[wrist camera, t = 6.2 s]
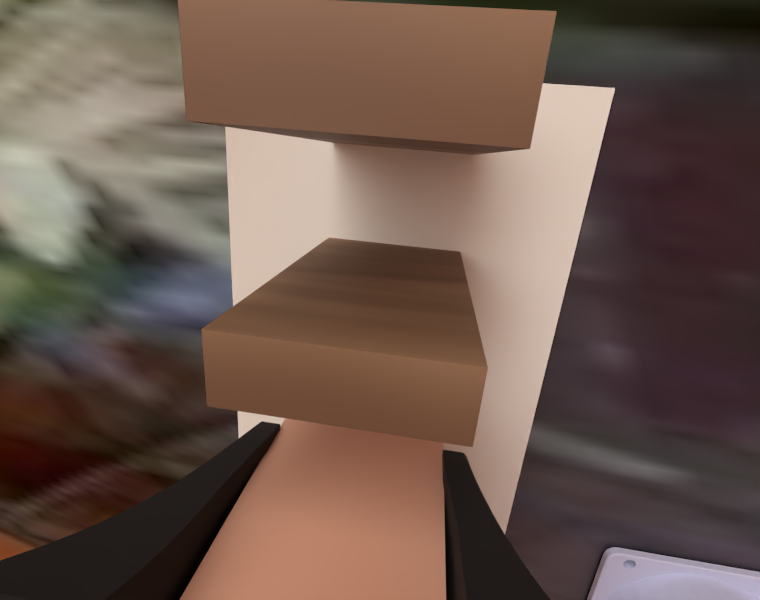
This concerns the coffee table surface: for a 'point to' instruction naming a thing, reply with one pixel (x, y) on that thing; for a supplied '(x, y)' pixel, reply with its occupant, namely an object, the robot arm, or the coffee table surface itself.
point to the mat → (439, 241)
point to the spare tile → (333, 521)
